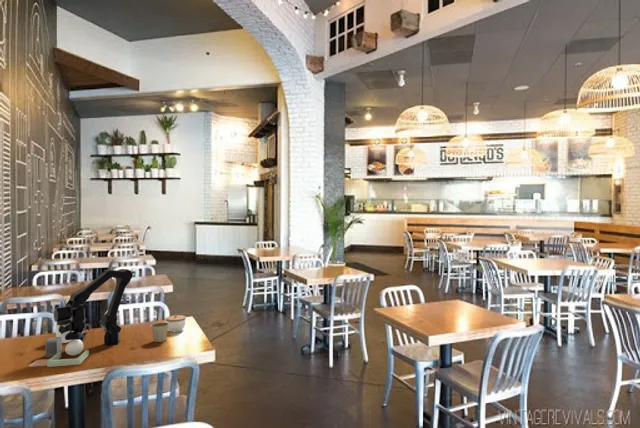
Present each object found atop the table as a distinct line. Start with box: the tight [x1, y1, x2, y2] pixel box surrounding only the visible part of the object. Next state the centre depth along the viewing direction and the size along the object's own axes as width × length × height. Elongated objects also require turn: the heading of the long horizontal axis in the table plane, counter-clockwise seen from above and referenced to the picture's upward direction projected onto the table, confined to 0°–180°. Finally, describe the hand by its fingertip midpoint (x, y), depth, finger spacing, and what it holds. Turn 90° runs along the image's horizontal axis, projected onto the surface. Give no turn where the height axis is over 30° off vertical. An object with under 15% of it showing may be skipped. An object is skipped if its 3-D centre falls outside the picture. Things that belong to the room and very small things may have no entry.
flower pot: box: [150, 322, 169, 343], centre depth 237 cm, size 9×9×9 cm
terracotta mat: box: [28, 358, 50, 368], centre depth 204 cm, size 8×8×1 cm
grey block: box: [44, 336, 63, 359], centre depth 215 cm, size 5×6×8 cm
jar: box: [55, 317, 74, 344], centre depth 238 cm, size 9×8×12 cm
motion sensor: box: [64, 340, 84, 357], centre depth 215 cm, size 8×8×8 cm
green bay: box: [47, 349, 90, 368], centre depth 207 cm, size 13×13×2 cm
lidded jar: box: [165, 314, 186, 333], centre depth 256 cm, size 11×11×9 cm
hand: (78, 348), depth 221 cm, fingers closed
